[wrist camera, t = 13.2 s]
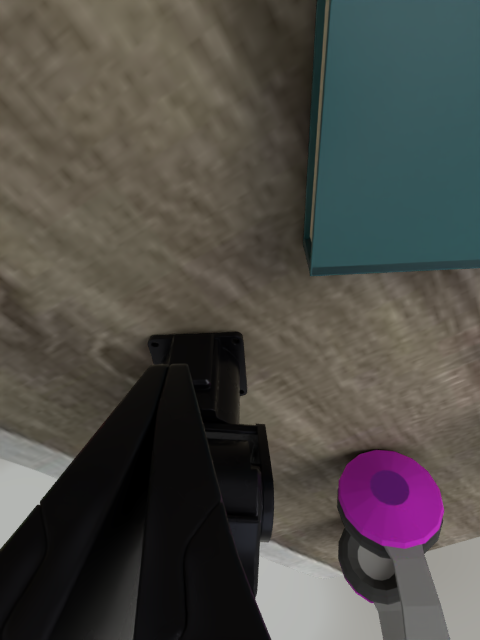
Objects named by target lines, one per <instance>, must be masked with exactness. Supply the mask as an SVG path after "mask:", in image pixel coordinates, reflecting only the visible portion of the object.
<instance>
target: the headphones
mask: <svg viewBox="0 0 480 640" xmlns="http://www.w3.org/2000/svg"><path fill="white" fill-rule="evenodd" d="M337 508H338V511H339V514H340V516H341V519H342V521H343V524H344V526H345V529H344V531H343V533H342V536H341V538H340V540H339V550H338V559H339V563H340V566H341V568H342V571H343V574H344V577H345V579H346V581H347V582H348V583H349V585H350V586H351V587H352V589H353V590H354V591H355V592H356V593H357V594H358V595H360V596H361V597H363V598H364V599H366V600H367V601H369V602H370V603H374V604H375V606H376V608H377V610H378V613H379V619H380V624H381V629H382V635H383V640H450V637H449V634H448V630H447V626H446V622H445V619H444V615H443V612H442V608H441V604H440V601H439V598H438V595H437V592H436V589H435V586H434V583H433V580H432V577H431V574H430V571H429V568H428V565H427V562H426V559H425V555H424V554H425V553H426V552H427V551H428V550H429V549H430V548H431V547H432V546H433V545H434V544H435V543H436V542H437V541H438V538H439V535H440V531H441V527H442V523H443V518H442V517H443V513H444V508H443V503H442V498H441V493H440V490H439V488H438V486H437V485H436V483H435V481H434V480H433V478H432V477H431V475H430V474H429V472H428V471H427V470H426V469H424V468H423V467H422V466H421V465H419V464H418V463H417V462H416V461H414V460H413V459H412V458H409V457H407V456H404V455H402V454H399V453H397V452H394V451H383V450H374V451H370V452H366V453H363V454H359V455H358V456H357V457H356V458H354V459H353V460H352V461H351V462H349V463H348V464H347V465H346V467H345V469H344V471H343V473H342V475H341V477H340V479H339V488H338V500H337Z"/></svg>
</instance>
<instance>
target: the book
mask: <svg viewBox="0 0 480 640" xmlns="http://www.w3.org/2000/svg"><path fill="white" fill-rule="evenodd" d="M303 248H304V251H305V255H306V260H307V264H308V268H309V273H310V276H325V275H346V274H367V273H387V272H408V271H429V270H449V269H470V268H480V0H317V4H316V22H315V40H314V57H313V75H312V93H311V111H310V129H309V147H308V165H307V183H306V201H305V219H304V237H303Z"/></svg>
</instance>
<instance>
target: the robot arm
mask: <svg viewBox="0 0 480 640" xmlns="http://www.w3.org/2000/svg"><path fill="white" fill-rule="evenodd" d="M234 339H238V340H234ZM154 342H157V343H154ZM148 347H149V350H150V353H151V356H152V359H153V363H154V365H151V366H150V367H148V369H147V370H146V371H145V372H144V374H143V375H142V376H141V377H140V379H139V380H138V381H137V382H136V383H135V385H134V386H133V387H132V388H131V390H130V391H129V392H128V393H127V395H126V396H125V397H124V398H123V400H122V401H121V402H120V403H119V404H118V406H117V407H116V408H115V409H114V411H113V412H112V413H111V414H110V416H109V417H108V418H107V419H106V421H105V422H104V423H103V424H102V426H101V427H100V428H99V429H98V430H97V432H96V433H95V434H94V435H93V437H92V438H91V439H90V440H89V442H88V443H87V444H86V445H85V447H84V448H83V449H82V450H81V451H80V453H79V454H78V455H77V456H76V458H75V459H74V460H73V461H72V463H71V464H70V465H69V466H68V468H67V469H66V470H65V471H64V472H63V474H62V475H61V476H60V477H59V479H58V480H57V481H56V482H55V484H54V485H53V486H52V487H51V489H50V490H49V491H48V492H47V493H46V495H45V496H44V497H43V499H42V500H41V501H40V505H37V506H36V507H35V508H34V509H33V511H32V512H31V513H30V514H29V516H28V517H27V518H26V519H25V520H24V522H23V523H22V524H21V525H20V526H19V528H18V529H17V530H16V531H15V533H14V534H13V535H12V536H11V537H10V538H9V540H8V541H7V542H6V543H5V544H4V545H3V547H2V548H1V549H0V640H271V638H270V635H269V633H268V630H267V628H266V626H265V623H264V621H263V618H262V615H261V613H260V611H259V608H258V605H257V603H256V600H255V597H256V594H257V586H258V567H259V547H260V542H269V541H270V538H271V534H272V528H273V516H274V486H273V475H272V468H271V461H270V455H269V448H268V441H267V434H266V427H265V424H256V425H244V424H239V399H240V396H243V395H246V393H247V380H246V367H245V355H244V342H243V335H242V334H241V333H239V332H222V333H199V334H175V335H154V336H151V337H150V338H149V340H148Z"/></svg>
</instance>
